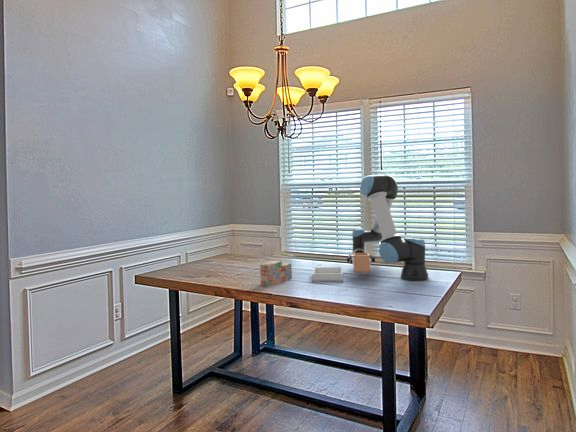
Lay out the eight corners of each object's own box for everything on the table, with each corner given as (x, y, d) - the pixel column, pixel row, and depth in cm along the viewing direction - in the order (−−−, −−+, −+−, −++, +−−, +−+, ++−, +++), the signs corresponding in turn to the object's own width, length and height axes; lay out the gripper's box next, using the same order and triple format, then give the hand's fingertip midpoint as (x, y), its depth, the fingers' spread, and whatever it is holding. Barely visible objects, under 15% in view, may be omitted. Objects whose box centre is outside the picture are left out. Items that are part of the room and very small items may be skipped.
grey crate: (342, 274, 253) (342, 267, 253) (342, 281, 237) (342, 273, 236) (314, 274, 255) (314, 267, 255) (312, 281, 238) (312, 273, 238)
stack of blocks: (283, 277, 251) (283, 257, 250) (292, 278, 247) (291, 258, 246) (260, 285, 234) (259, 263, 233) (269, 286, 230) (268, 265, 229)
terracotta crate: (368, 269, 248) (368, 252, 247) (369, 272, 239) (369, 255, 238) (353, 269, 249) (353, 252, 248) (354, 272, 240) (353, 255, 239)
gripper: (377, 260, 260) (381, 268, 238) (342, 261, 262) (342, 269, 240) (376, 249, 259) (380, 255, 237) (342, 249, 262) (342, 256, 239)
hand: (361, 262), depth 239 cm, fingers closed on terracotta crate, 9 cm apart
